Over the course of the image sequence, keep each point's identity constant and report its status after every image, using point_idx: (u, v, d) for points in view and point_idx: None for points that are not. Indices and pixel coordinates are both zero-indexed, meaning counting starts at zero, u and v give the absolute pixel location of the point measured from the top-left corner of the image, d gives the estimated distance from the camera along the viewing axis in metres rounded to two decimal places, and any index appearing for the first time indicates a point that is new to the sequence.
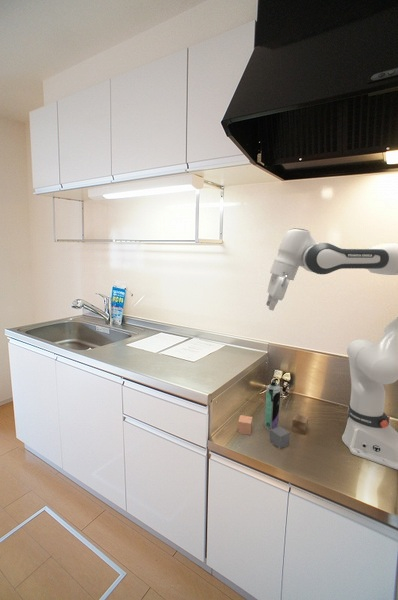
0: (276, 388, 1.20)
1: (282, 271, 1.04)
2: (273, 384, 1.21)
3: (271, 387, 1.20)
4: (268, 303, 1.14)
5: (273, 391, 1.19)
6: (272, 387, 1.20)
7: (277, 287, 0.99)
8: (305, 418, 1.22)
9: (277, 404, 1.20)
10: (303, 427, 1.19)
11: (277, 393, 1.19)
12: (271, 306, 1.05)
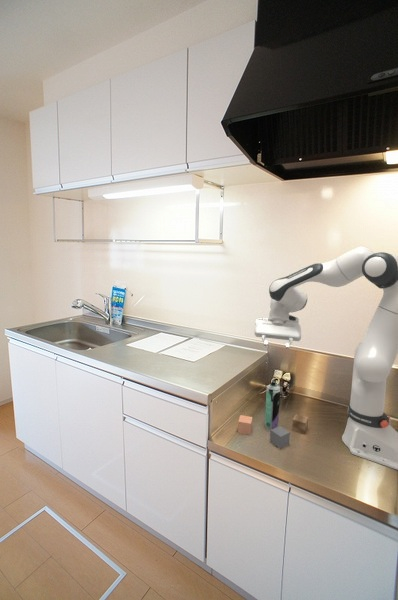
0: (276, 388, 1.20)
1: None
2: (273, 384, 1.21)
3: (271, 387, 1.20)
4: (286, 346, 1.30)
5: (273, 391, 1.19)
6: (272, 387, 1.20)
7: None
8: (305, 418, 1.22)
9: (277, 404, 1.20)
10: (303, 427, 1.19)
11: (277, 393, 1.19)
12: (264, 342, 1.33)
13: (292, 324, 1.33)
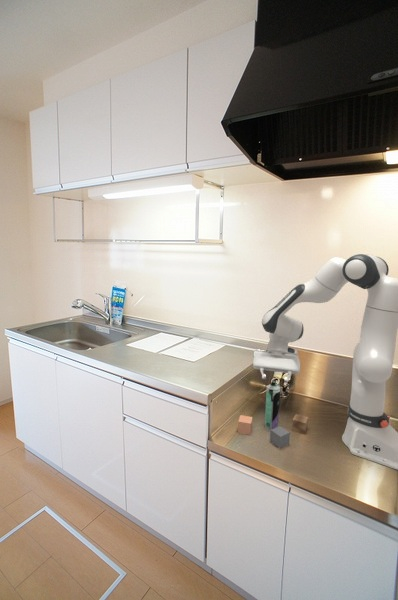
0: (276, 388, 1.20)
1: None
2: (273, 384, 1.21)
3: (271, 387, 1.20)
4: None
5: (273, 391, 1.19)
6: (272, 387, 1.20)
7: None
8: (305, 418, 1.22)
9: (277, 404, 1.20)
10: (303, 427, 1.19)
11: (277, 393, 1.19)
12: (262, 376, 1.30)
13: (291, 356, 1.30)
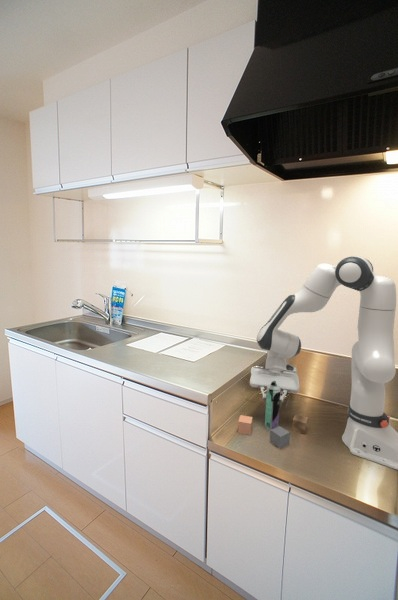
0: (276, 388, 1.20)
1: None
2: (273, 384, 1.21)
3: (271, 387, 1.20)
4: None
5: (273, 391, 1.19)
6: (272, 387, 1.20)
7: None
8: (305, 418, 1.22)
9: (277, 404, 1.20)
10: (303, 427, 1.19)
11: (277, 393, 1.19)
12: None
13: (290, 374, 1.24)
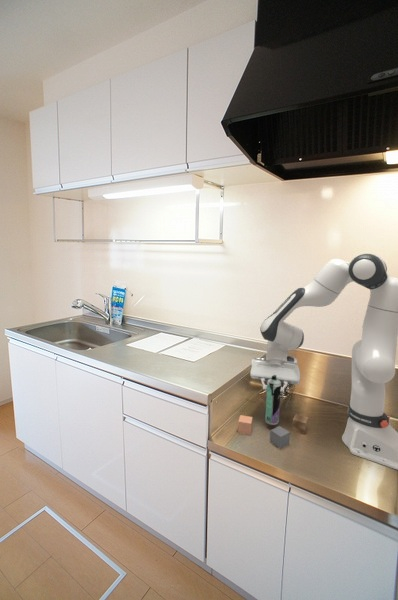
0: (277, 382, 1.19)
1: None
2: (274, 378, 1.20)
3: (271, 381, 1.20)
4: (280, 390, 1.21)
5: (273, 385, 1.19)
6: (272, 381, 1.20)
7: None
8: (305, 418, 1.22)
9: (277, 398, 1.20)
10: (303, 427, 1.19)
11: (277, 387, 1.19)
12: (263, 386, 1.23)
13: (290, 365, 1.24)
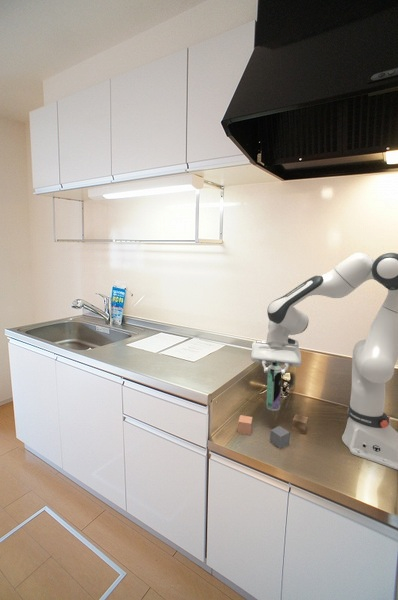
0: (277, 368, 1.18)
1: None
2: (274, 364, 1.19)
3: (272, 367, 1.19)
4: (281, 372, 1.20)
5: (274, 371, 1.18)
6: (273, 367, 1.19)
7: None
8: (305, 418, 1.22)
9: (278, 384, 1.19)
10: (303, 427, 1.19)
11: (278, 373, 1.18)
12: (264, 369, 1.22)
13: (292, 347, 1.22)
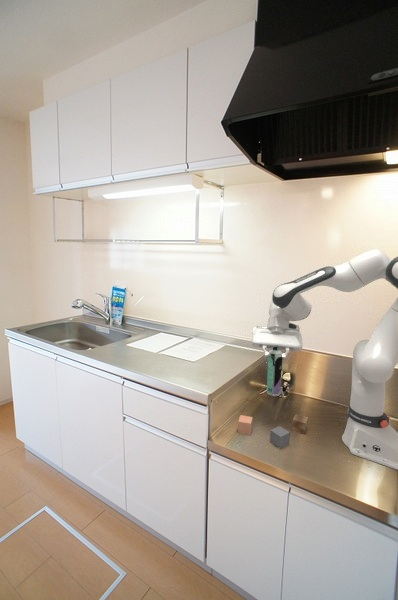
0: (278, 352, 1.17)
1: None
2: (275, 349, 1.18)
3: (273, 352, 1.18)
4: (282, 356, 1.19)
5: (275, 355, 1.17)
6: (274, 351, 1.18)
7: None
8: (305, 418, 1.22)
9: (279, 369, 1.18)
10: (303, 427, 1.19)
11: (279, 357, 1.17)
12: None
13: (293, 332, 1.21)
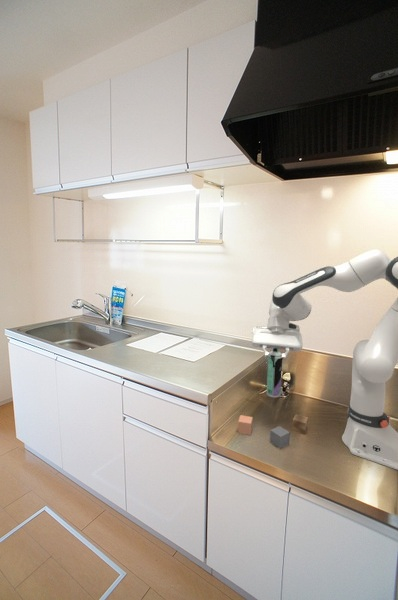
0: (278, 354, 1.17)
1: None
2: (275, 350, 1.18)
3: (273, 353, 1.18)
4: (282, 356, 1.19)
5: (275, 357, 1.17)
6: (274, 353, 1.18)
7: None
8: (305, 418, 1.22)
9: (279, 370, 1.18)
10: (303, 427, 1.19)
11: (279, 359, 1.17)
12: None
13: (293, 332, 1.21)
